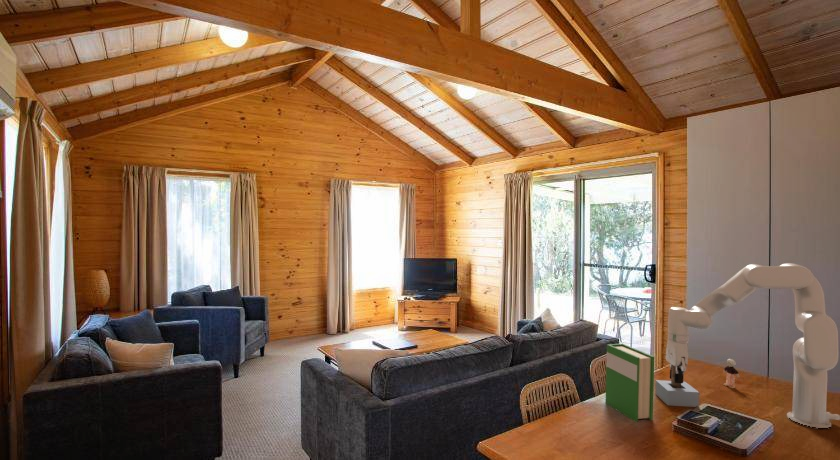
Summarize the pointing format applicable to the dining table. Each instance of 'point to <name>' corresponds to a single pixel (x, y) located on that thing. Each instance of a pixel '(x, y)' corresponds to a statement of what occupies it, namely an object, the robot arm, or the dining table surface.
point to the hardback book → (630, 381)
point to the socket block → (677, 394)
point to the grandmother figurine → (730, 373)
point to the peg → (673, 384)
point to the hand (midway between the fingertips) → (676, 380)
